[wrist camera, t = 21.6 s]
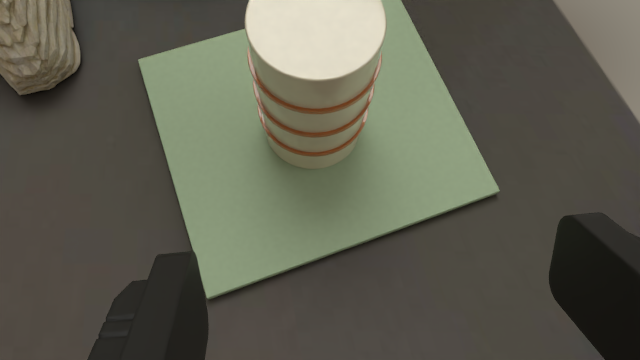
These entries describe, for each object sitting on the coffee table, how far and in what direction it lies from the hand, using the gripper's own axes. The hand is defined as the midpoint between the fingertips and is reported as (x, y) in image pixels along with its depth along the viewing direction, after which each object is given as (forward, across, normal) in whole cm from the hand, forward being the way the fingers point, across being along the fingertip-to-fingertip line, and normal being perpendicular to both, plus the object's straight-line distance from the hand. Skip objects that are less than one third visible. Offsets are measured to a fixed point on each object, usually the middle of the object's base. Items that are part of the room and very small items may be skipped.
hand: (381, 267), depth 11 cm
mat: (+20, 0, +4) cm, 20 cm away
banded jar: (+20, 0, +3) cm, 20 cm away
